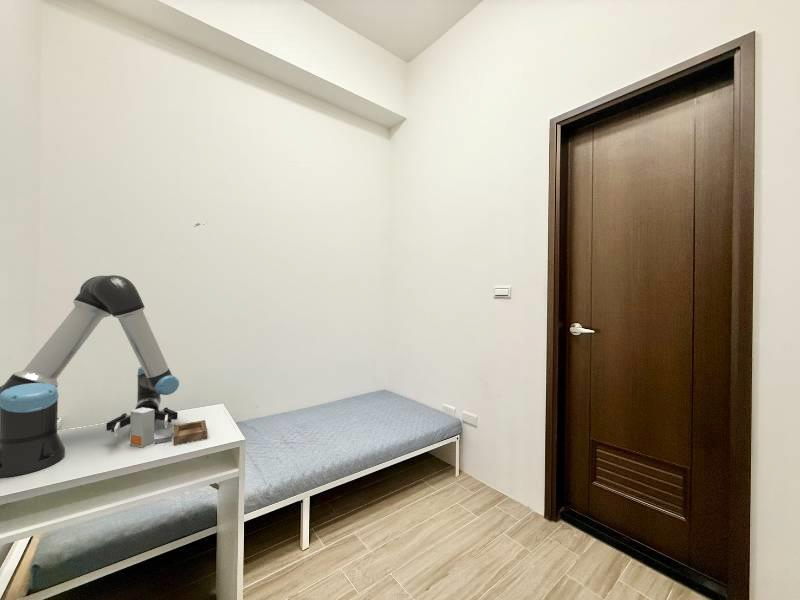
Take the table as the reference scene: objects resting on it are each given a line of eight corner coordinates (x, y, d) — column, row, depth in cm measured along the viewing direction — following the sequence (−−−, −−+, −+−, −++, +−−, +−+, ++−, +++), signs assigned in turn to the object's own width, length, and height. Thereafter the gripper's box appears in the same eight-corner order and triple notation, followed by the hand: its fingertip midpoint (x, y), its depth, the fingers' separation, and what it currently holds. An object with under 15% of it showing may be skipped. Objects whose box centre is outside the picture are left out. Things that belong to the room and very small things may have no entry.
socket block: (173, 445, 111) (173, 436, 111) (174, 433, 121) (174, 425, 121) (207, 438, 117) (207, 430, 117) (204, 427, 127) (205, 419, 127)
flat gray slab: (154, 444, 112) (154, 443, 112) (155, 440, 115) (155, 439, 115) (171, 441, 115) (171, 440, 115) (172, 436, 118) (172, 436, 118)
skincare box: (129, 445, 111) (129, 410, 111) (142, 440, 115) (142, 406, 115) (142, 448, 109) (142, 412, 109) (154, 442, 113) (155, 408, 113)
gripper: (184, 413, 134) (185, 431, 116) (104, 425, 120) (91, 448, 102) (184, 395, 134) (185, 410, 116) (104, 405, 120) (91, 425, 102)
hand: (141, 428), depth 109 cm, fingers open, 13 cm apart
